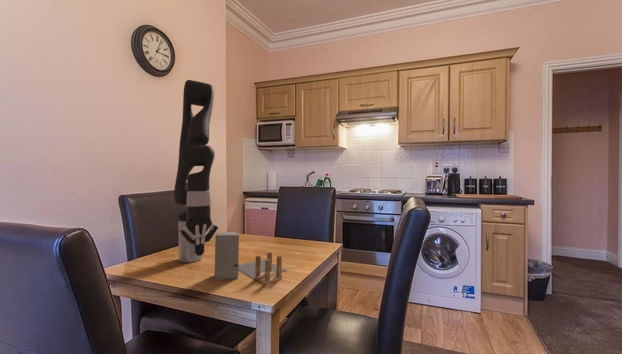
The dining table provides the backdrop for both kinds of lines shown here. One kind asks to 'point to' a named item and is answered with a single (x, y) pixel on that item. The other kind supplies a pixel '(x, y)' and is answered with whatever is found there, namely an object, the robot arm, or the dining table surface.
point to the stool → (268, 270)
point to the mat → (250, 268)
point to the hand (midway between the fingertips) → (199, 255)
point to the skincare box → (226, 255)
